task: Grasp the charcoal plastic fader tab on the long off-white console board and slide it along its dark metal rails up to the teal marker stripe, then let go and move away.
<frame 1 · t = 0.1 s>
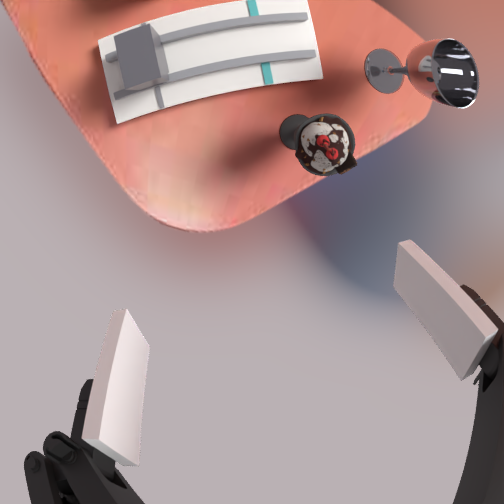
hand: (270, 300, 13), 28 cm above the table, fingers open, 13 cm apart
wine glass: (384, 70, 32), on the table
console: (209, 51, 29), on the table
sundae: (297, 132, 36), on the table
fader tab: (144, 60, 24), point 6 cm above the table, slide at -7.0 cm
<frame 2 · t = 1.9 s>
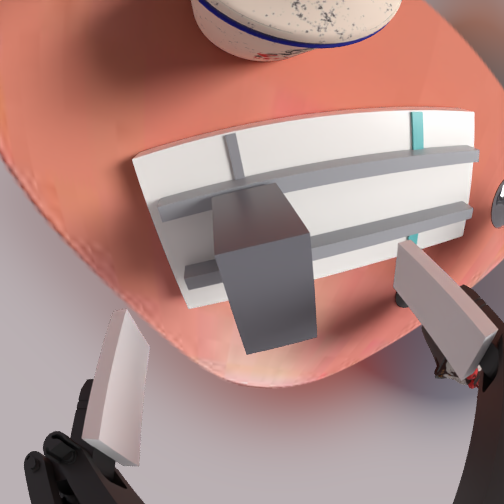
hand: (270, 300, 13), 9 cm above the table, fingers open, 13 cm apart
console: (337, 190, 21), on the table
sundae: (412, 288, 28), on the table
fader tab: (259, 256, 15), point 6 cm above the table, slide at -7.0 cm
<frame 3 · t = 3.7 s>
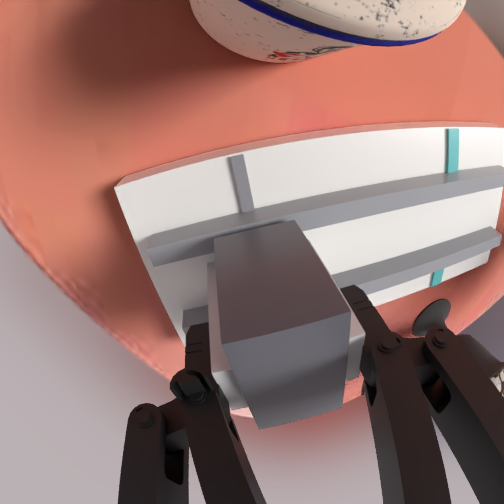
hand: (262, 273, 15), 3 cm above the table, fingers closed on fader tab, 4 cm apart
console: (360, 219, 18), on the table
sundae: (430, 316, 25), on the table
fader tab: (274, 313, 12), point 6 cm above the table, slide at -7.0 cm, touching gripper
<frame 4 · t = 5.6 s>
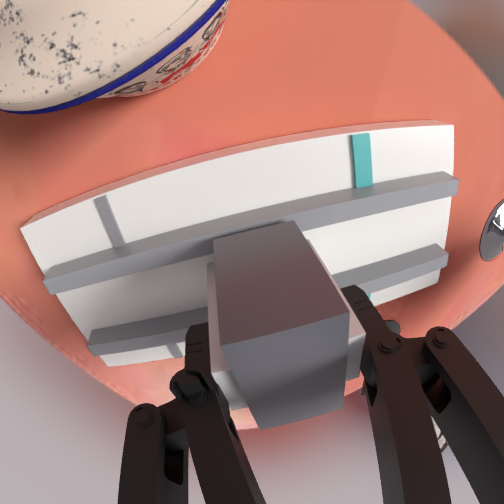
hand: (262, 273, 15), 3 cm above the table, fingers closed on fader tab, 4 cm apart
wine glass: (499, 229, 21), on the table
console: (257, 243, 17), on the table
sundae: (376, 338, 25), on the table
fader tab: (274, 313, 12), point 6 cm above the table, slide at -0.2 cm, touching gripper
teacup with lid: (161, 3, 10), on the table
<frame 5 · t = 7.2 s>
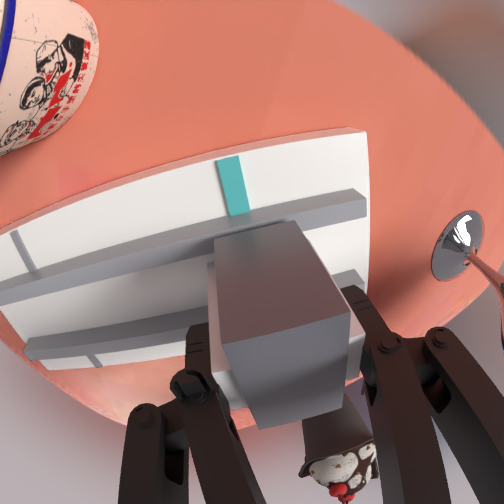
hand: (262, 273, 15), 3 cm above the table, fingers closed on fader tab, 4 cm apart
wine glass: (458, 246, 21), on the table
console: (153, 268, 17), on the table
sundae: (308, 360, 24), on the table
fader tab: (274, 313, 12), point 6 cm above the table, slide at 6.4 cm, touching gripper
teacup with lid: (52, 48, 10), on the table
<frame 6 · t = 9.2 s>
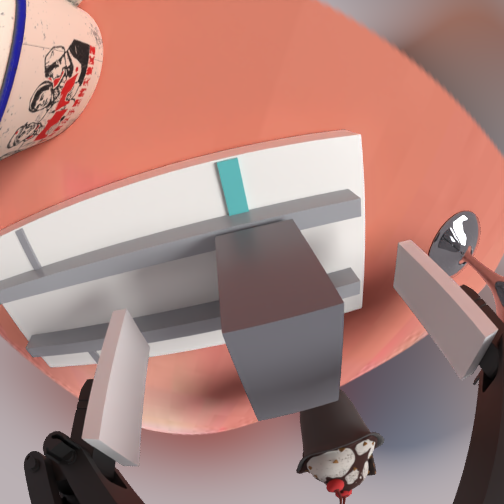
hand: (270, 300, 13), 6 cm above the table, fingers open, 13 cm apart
wine glass: (454, 246, 21), on the table
console: (154, 267, 18), on the table
sundae: (306, 358, 25), on the table
fader tab: (273, 308, 13), point 6 cm above the table, slide at 6.5 cm
teacup with lid: (57, 52, 10), on the table
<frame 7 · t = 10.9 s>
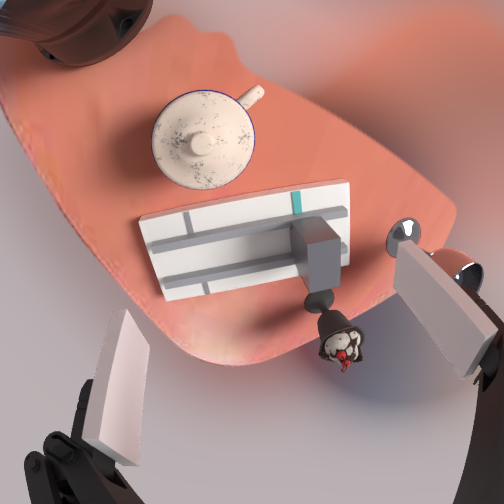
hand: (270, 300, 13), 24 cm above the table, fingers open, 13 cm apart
wine glass: (403, 238, 42), on the table
console: (250, 237, 38), on the table
sundae: (318, 300, 45), on the table
fader tab: (313, 249, 33), point 6 cm above the table, slide at 6.5 cm
teacup with lid: (214, 124, 31), on the table
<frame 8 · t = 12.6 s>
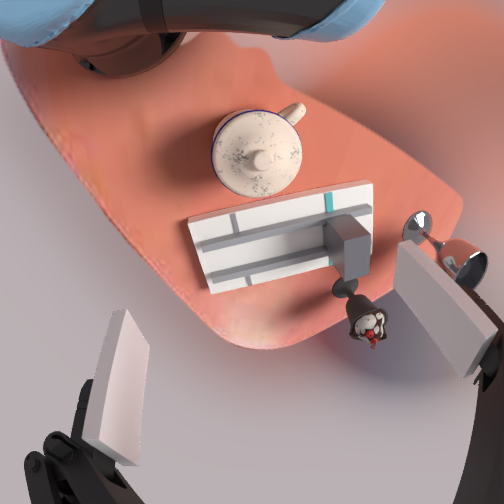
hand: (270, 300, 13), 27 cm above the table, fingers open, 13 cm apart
wine glass: (417, 228, 46), on the table
console: (287, 233, 42), on the table
sundae: (344, 286, 49), on the table
fader tab: (345, 243, 37), point 6 cm above the table, slide at 6.5 cm
teacup with lid: (255, 134, 35), on the table
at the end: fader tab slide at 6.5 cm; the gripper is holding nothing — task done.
